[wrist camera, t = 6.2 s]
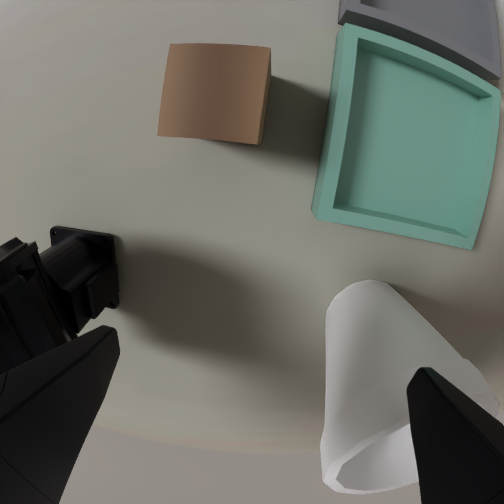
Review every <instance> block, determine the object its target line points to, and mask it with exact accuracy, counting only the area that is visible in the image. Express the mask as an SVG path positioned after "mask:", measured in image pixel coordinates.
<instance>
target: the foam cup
mask: <svg viewBox="0 0 504 504" xmlns="http://www.w3.org/2000/svg"><path fill="white" fill-rule="evenodd" d="M325 325H326V328H325V336H326V393H325V426H324V430H323V434H322V438H321V443H320V451H321V462H322V475H323V482H324V483H325V484H327V485H328V486H329V487H330V488H332V489H333V490H334V491H335V492H342V493H350V494H368V493H375V492H383V491H389V490H393V489H396V488H399V487H402V486H405V485H408V484H411V483H414V482H417V481H419V478H418V471H417V465H416V459H415V453H414V447H413V442H412V436H411V429H410V420H409V410H408V401H407V394H406V390H407V386H408V384H409V382H410V381H411V379H412V377H413V376H414V374H415V372H416V371H417V369H419V368H420V367H431V368H433V369H434V370H435V371H437V372H438V373H439V374H440V375H442V376H443V377H444V378H445V379H447V380H448V381H449V382H451V383H452V384H453V385H454V386H456V387H457V388H458V389H459V390H461V391H462V392H463V393H464V394H466V395H467V396H468V397H469V398H471V399H472V400H473V401H474V402H476V403H477V404H478V405H479V406H481V407H482V408H483V409H484V410H486V411H487V412H488V413H489V414H491V415H492V416H493V417H494V418H496V416H497V412H498V409H499V405H500V402H499V400H498V399H497V397H496V395H495V394H494V392H493V390H492V389H491V387H490V385H489V384H488V382H487V381H486V379H485V378H484V376H483V374H482V373H481V372H480V371H479V370H478V369H477V368H476V367H475V366H474V365H473V364H472V363H471V362H470V361H469V360H468V359H464V358H463V357H462V356H461V355H460V354H459V353H458V352H457V351H456V350H455V349H454V348H453V347H452V346H451V345H450V344H449V343H448V342H447V341H446V339H445V338H444V337H443V336H442V335H441V334H440V333H439V332H438V331H437V330H436V329H435V328H434V327H433V326H432V325H431V324H430V323H429V322H428V321H427V320H426V319H425V318H424V317H423V316H422V315H421V314H420V313H419V312H418V311H417V310H416V309H415V308H414V307H412V306H411V305H410V304H409V303H408V302H407V301H406V300H405V299H404V298H403V297H402V296H401V295H400V294H399V293H398V292H396V291H395V290H394V289H393V288H392V287H391V286H389V285H388V284H387V283H386V282H382V281H377V280H371V279H368V280H364V281H360V282H356V283H353V284H350V285H349V286H348V287H346V288H345V289H343V290H342V291H341V292H339V293H338V294H337V295H336V296H335V297H334V299H333V301H332V302H331V304H330V305H329V307H328V309H327V313H326V324H325Z"/></svg>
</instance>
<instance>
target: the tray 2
mask: <svg viewBox="0 0 504 504" xmlns="http://www.w3.org/2000/svg"><path fill="white" fill-rule="evenodd" d="M500 99H501V91H500V90H499V89H497V88H496V87H494V86H493V85H491V84H489V83H488V82H486V81H485V80H483V79H481V78H480V77H478V76H476V75H474V74H473V73H471V72H469V71H467V70H465V69H464V68H462V67H460V66H458V65H456V64H454V63H452V62H450V61H448V60H446V59H444V58H442V57H440V56H438V55H435V54H433V53H431V52H429V51H426V50H424V49H422V48H419V47H417V46H415V45H412V44H410V43H407V42H404V41H402V40H399V39H396V38H394V37H391V36H388V35H385V34H382V33H379V32H376V31H373V30H369V29H366V28H363V27H359V26H356V25H352V24H348V23H345V24H344V25H343V27H342V28H341V30H340V31H339V33H338V34H337V37H336V47H335V56H334V64H333V73H332V81H331V88H330V96H329V103H328V110H327V117H326V124H325V130H324V137H323V143H322V149H321V156H320V162H319V167H318V173H317V179H316V185H315V190H314V196H313V201H312V206H311V210H312V212H313V214H314V216H315V218H316V220H322V221H328V222H334V223H340V224H345V225H351V226H357V227H362V228H367V229H373V230H378V231H383V232H388V233H393V234H398V235H403V236H408V237H413V238H418V239H423V240H427V241H432V242H437V243H441V244H446V245H450V246H455V247H459V248H463V249H468V250H472V249H473V246H474V243H475V239H476V236H477V233H478V230H479V226H480V223H481V219H482V215H483V211H484V208H485V203H486V199H487V195H488V191H489V186H490V181H491V176H492V171H493V165H494V159H495V152H496V145H497V137H498V128H499V116H500Z"/></svg>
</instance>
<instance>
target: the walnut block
mask: <svg viewBox="0 0 504 504" xmlns="http://www.w3.org/2000/svg"><path fill="white" fill-rule="evenodd" d="M270 81H271V48H267V47H258V46H247V45H232V44H202V43H193V44H170V48H169V54H168V59H167V65H166V71H165V78H164V85H163V92H162V99H161V107H160V116H159V125H158V135H157V136H167V137H185V138H199V139H211V140H221V141H231V142H240V143H248V144H256V145H257V144H260V143H262V138H263V131H264V124H265V116H266V109H267V102H268V95H269V88H270Z"/></svg>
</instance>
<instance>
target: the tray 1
mask: <svg viewBox="0 0 504 504" xmlns="http://www.w3.org/2000/svg"><path fill="white" fill-rule="evenodd" d="M345 23H348V24H352V25H356V26H359V27H363V28H366V29H369V30H373V31H376V32H379V33H382V34H385V35H388V36H391V37H394V38H396V39H399V40H402V41H404V42H407V43H410V44H412V45H415V46H417V47H419V48H422V49H424V50H426V51H429V52H431V53H433V54H435V55H438V56H440V57H442V58H444V59H446V60H448V61H450V62H452V63H454V64H456V65H458V66H460V67H462V68H464V69H465V70H467V71H469V72H471V73H473V74H474V75H476V76H478V77H480V78H481V79H483V80H485V81H486V80H494V79H501V61H500V44H499V33H498V24H497V17H496V10H495V4H494V0H340V4H339V16H338V24H342V25H344V24H345Z"/></svg>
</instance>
